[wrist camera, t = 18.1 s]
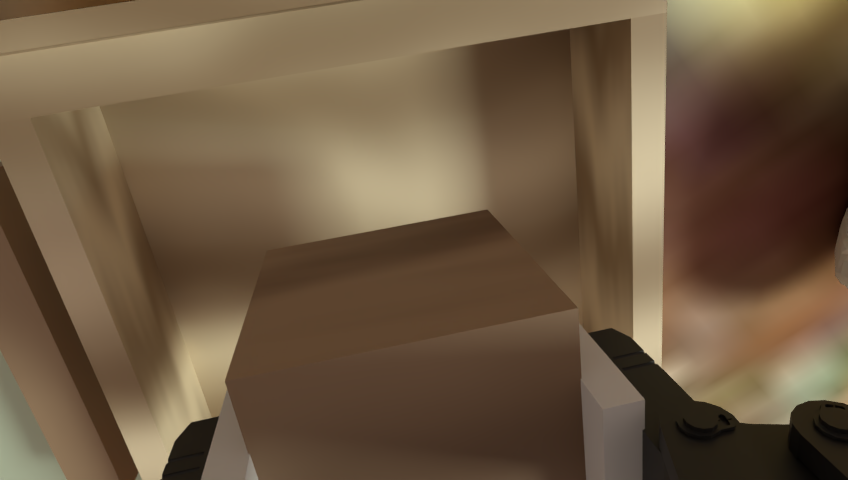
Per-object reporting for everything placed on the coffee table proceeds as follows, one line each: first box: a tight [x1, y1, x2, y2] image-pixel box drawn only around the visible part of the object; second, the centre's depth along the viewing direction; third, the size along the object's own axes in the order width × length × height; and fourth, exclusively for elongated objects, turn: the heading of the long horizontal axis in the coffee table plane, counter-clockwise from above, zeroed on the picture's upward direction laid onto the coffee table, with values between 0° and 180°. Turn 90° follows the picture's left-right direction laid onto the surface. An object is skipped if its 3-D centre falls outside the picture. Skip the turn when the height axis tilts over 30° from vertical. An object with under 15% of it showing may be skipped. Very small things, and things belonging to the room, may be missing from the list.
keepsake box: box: [0, 0, 667, 480], centre depth 18 cm, size 18×17×6 cm
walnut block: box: [225, 209, 586, 480], centre depth 13 cm, size 6×6×6 cm
